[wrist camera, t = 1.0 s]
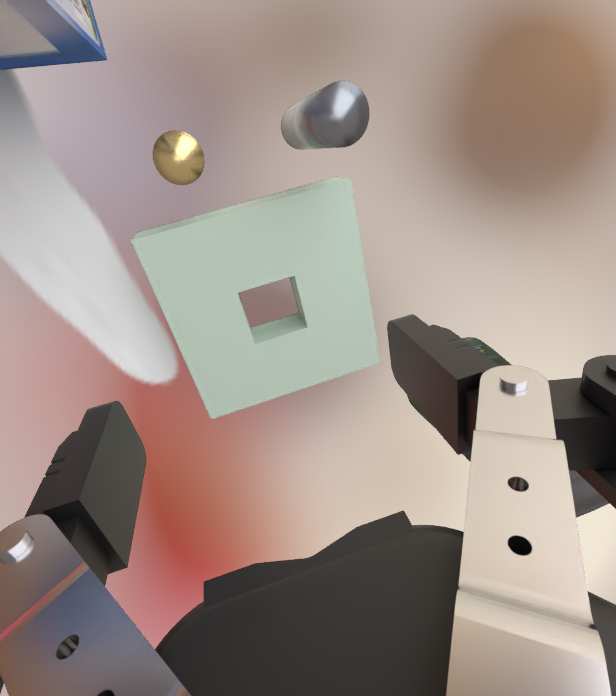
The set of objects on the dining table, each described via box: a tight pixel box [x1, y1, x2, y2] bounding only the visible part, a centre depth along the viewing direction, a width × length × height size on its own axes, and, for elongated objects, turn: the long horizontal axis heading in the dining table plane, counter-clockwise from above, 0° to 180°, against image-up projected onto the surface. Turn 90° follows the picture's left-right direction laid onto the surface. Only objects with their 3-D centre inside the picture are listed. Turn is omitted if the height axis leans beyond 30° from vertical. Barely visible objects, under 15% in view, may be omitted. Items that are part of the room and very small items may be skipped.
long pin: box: [281, 81, 369, 149], centre depth 25 cm, size 3×3×10 cm
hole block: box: [131, 177, 380, 419], centre depth 33 cm, size 16×16×4 cm
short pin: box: [153, 131, 204, 185], centre depth 26 cm, size 3×3×5 cm
